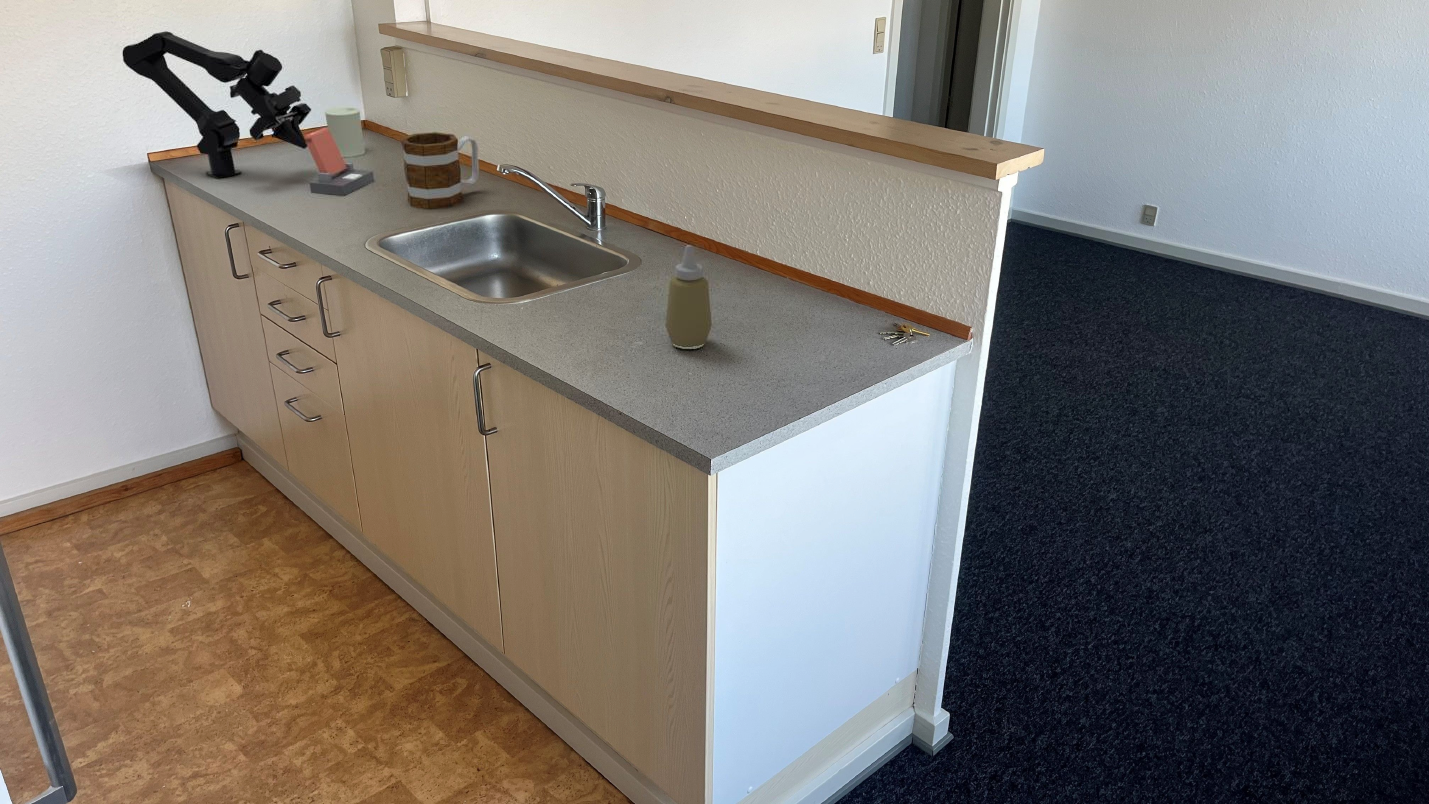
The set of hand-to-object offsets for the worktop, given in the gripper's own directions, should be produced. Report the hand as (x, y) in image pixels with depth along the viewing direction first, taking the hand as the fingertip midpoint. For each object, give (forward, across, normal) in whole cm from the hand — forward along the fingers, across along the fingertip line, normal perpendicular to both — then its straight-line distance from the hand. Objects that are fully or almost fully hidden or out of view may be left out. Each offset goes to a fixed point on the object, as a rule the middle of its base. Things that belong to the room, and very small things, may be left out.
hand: (306, 147), depth 263 cm
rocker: (+10, 0, 0) cm, 10 cm away
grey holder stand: (+13, 0, 0) cm, 13 cm away
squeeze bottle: (+90, -66, -77) cm, 135 cm away
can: (+1, +29, +12) cm, 32 cm away
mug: (+33, -1, -20) cm, 39 cm away
